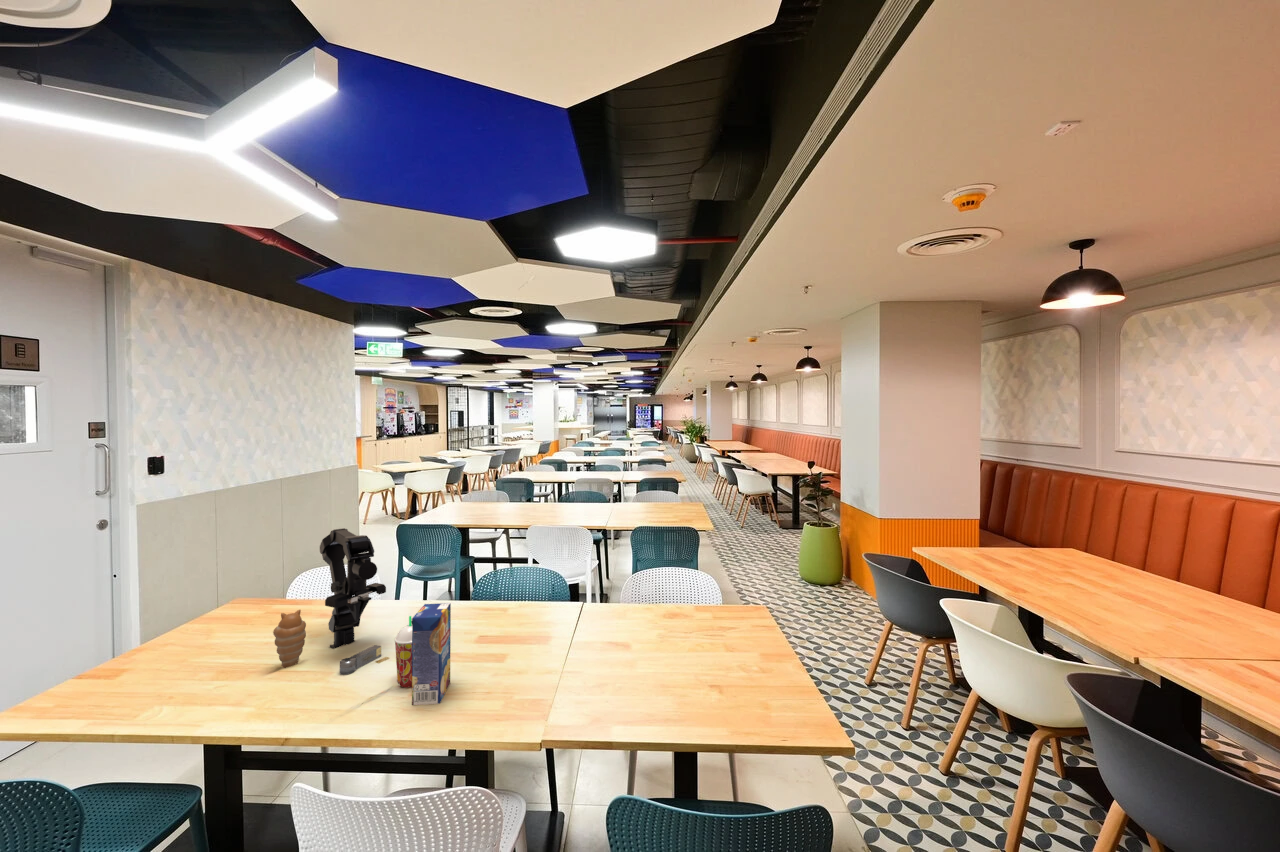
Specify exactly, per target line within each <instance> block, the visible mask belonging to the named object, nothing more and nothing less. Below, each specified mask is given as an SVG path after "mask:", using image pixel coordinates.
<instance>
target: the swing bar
mask: <svg viewBox="0 0 1280 852" xmlns="http://www.w3.org/2000/svg"><path fill="white" fill-rule="evenodd" d="M380 657H382V645H378V644H374V645H372V646H369V647H368V648H366V649H364V650H361V651H359V652H358V653H356V654H354V655H352V656H350V657H346V658H343V659H341V660H339V675H342V676H347V675H351V674H354V673H355V672H356V671H357V670H358V669H360V668H361V667H364V666H365V665H367V664H370V663H371V662H373V661H374V660H376V659H380Z"/></svg>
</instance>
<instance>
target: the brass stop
mask: <svg viewBox="0 0 1280 852" xmlns="http://www.w3.org/2000/svg"><path fill="white" fill-rule="evenodd" d="M390 658H391V657H389V656H385V657H383V658H379V659H378V660H376V661H375V662H374V663H375V664H381V663H383V662H386V661H388V660H389V659H390Z"/></svg>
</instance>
